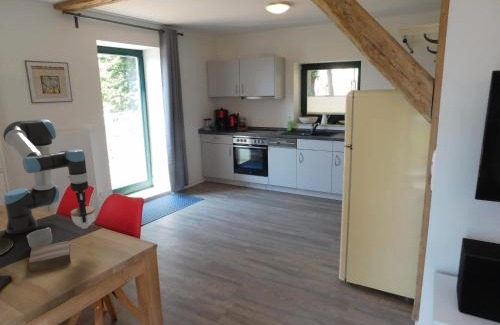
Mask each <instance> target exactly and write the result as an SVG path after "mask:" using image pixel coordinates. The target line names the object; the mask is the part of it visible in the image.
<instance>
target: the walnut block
mask: <svg viewBox="0 0 500 325" xmlns="http://www.w3.org/2000/svg"><path fill="white" fill-rule="evenodd" d="M70 246H71V244H70V240H66V241H65V240H64V241H61V242H55V243H51V244H49V245H45V246H40V247H35V248H31V250H30V255H29V259H28V260H29V261H28V266H29V272H30V273H32V272H38V271H42V270H45V269H46V270H48V269H50V268H54V267H55V268H56V267H60V266H63V265H67V264H68V265H69V264H71V263H72V258H71V247H70Z"/></svg>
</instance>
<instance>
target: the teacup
mask: <svg viewBox="0 0 500 325" xmlns="http://www.w3.org/2000/svg"><path fill="white" fill-rule="evenodd" d="M26 239H27V242H28V245H29V247H30V248H31V249H32V248H35V247H40V246H45V245H49V244H53V243H52V242H53V233H52V229H51V228H50V227H45V228H41V229H37V230H35V231H32V232H31V231H30V233H28V234H27V235H26Z"/></svg>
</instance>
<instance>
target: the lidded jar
mask: <svg viewBox="0 0 500 325" xmlns="http://www.w3.org/2000/svg"><path fill="white" fill-rule="evenodd" d="M82 214H84V213H82ZM86 214H87V221H88V227H90V226H91V225H92V223H93V222H94V221H95V218H96V208H95V207H93V206H89V205H88V206H87V205H86ZM79 215H81V214H80V207H79V206H78V207H77V208H76V207H75V208H74V209H72V210H70V216H71V220H72V222H73V224H74V225H75V226H77V227H78V228H82V224H81V217H79Z"/></svg>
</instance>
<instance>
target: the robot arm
mask: <svg viewBox="0 0 500 325" xmlns="http://www.w3.org/2000/svg"><path fill="white" fill-rule="evenodd" d="M56 134H57V133H56V128H55V127H54V125H53V123H52V121H50V119H31V120H17V121H14V122H11V123H10V124H9V125H7V126H6V127H5V129H4V130H3V136H2V137H3V139H4V142H5V143H6V144H7V145H9V146H10V147H13V148H14V150H15V151H16V152H17V153H18V154H19V155H20V157H21V158H22V166H23V169H24V171H25V173H28V174H33V178H34V183H33V184H32V185H31V189H28V188H27V187H20V188H16V189H14V190H11V191H8V192H6V193H5V194H4V196H3V197H4V198H3V200H4V204H5V205H4V206H5V210H6V215H7V222H6V227H5V230H6V233H7V234H9V235H19V234H23V233H27V232H31V231H33V230H35V229H36V228H37V227H38V221H37V220H36V217H34V215H33V211H32V210H34V209H39V208H42V207H46V206H52V205H53V204H56V203H58V202H59V199H60V190H59V187H58V186H57V185H56V184H55V182H54V181H53V180H52V170H58V169H64V168H67V169H68V176H67V178H69V182H70V190H71V191H72V192H75V196H76V199H77V203H78V208H79V207H80V214H81V215H79V217H81V224H82V227H81V229H82V230H84V229H88V228H89V226H88V221H87V214H86V206H87V204H86V192H85V191H86V190H88V189H89V182H88V171H87V165H86V155H85V152H84V150H83V149H81V148H80V149H77V148H76V149H70V150H69V149H68V150H60V151H59V152H54V153H51V150H50V146H51V145H52V144H53V140H55V139H56V137H57V135H56ZM82 213H84V214H82Z"/></svg>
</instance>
